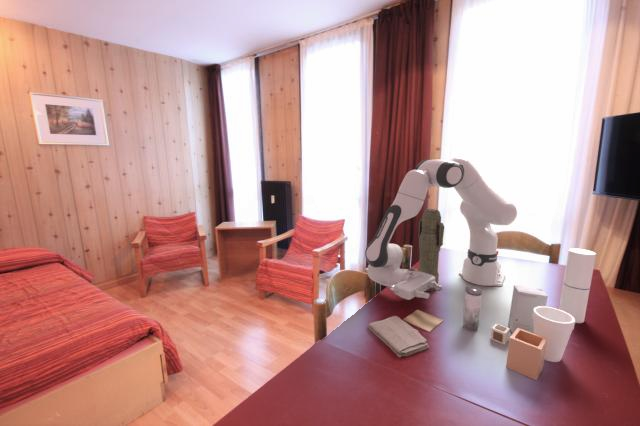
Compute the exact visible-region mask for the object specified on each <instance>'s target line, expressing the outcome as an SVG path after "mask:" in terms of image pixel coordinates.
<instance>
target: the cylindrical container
mask: <svg viewBox="0 0 640 426" xmlns="http://www.w3.org/2000/svg"><path fill="white" fill-rule="evenodd" d="M567 251H568V252H567V256H566V257H567V258H566V263H565V269H564V276H563V282H562V283H563V284H562V288H561V294H560V302H559V308H558V309H559V310H562V311H564V312H566V313H569V314H570V315H571V316H573V317H574V318H575V324H582V323H584V322H585V317H586V312H587V308H588V307H587V306H588V301H589V296H590V289H591V284H592V279H593V274H594V269H595V268H594V267H595V263H596V256H597V253H596V252H594V251H592V250H589V249H584V248H578V247H577V248H575V247H574V248H569V249H568V250H567Z"/></svg>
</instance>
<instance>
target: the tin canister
mask: <svg viewBox="0 0 640 426" xmlns="http://www.w3.org/2000/svg"><path fill="white" fill-rule="evenodd" d="M482 295H483V289H482V288H480V287H478V286H474V285H473V286H472V285H468V286H466V287H465V294H464V305H463V306H464V307H463V313H462V314H463V317H462V328H463V329H464V330H466V331H469V332H477V331H479V324H480V317H481V316H480V314H481V306H482Z"/></svg>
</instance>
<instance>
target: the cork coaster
mask: <svg viewBox="0 0 640 426" xmlns="http://www.w3.org/2000/svg"><path fill="white" fill-rule="evenodd" d="M402 320H403V321H404V322H406V323H407V324H409V325H413V327H414V326H415V327H417V328H419V329H421V330H424V331H425V332H428V333H430V332H431V331H433V330H434V329H436V327H438V326H439V325H440V324H441V323H443V322H444V319H442V318H439V317H436V316H434V315H432V314H430V313H427V312H425V311H422V310H419V309H416V310H414V311H413V312H412V313H410V314H409V315H407V316H406V317H405V318H403V319H402Z"/></svg>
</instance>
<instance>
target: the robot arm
mask: <svg viewBox="0 0 640 426" xmlns="http://www.w3.org/2000/svg"><path fill="white" fill-rule="evenodd" d="M432 187H437V188H439V187H440V188H443V189H449V188H451V189H452V188H454V189H455V190H456V192H457V193H458V195H459V196H460V198H461V199H462V201H461V203H460V206H459V210H460V213H461V214H462V215H463V217H464V219H465V220H466V222H467V226H468V230H469V245H468V246H469V248H468V249H467V254H466V255H467V257H466V258H464V259H463V265H462V271H459V276H461V277H462V279H463V280H464V281H466V282H468V283H470V284H474V285H478V286H483V287H484V286H485V287H489V286H490V287H491V286H492V287H493V286H494V287H503V284H504V281H505V278H506V273H504V272H501V264H500V263H499V261H498V255H499V250H497V248H498V242H499V241H498V240H499V239H498V235H497V233H496V232H495V231H494V230H493V228H492V226H491V225H494V226H495V225H496V226H509V225H511V224H512V223H513V222H514V221H515V220H516V218H517V215H518V211H517V208H516V205H515V204H514V203H511V202H509V201H507V199H504V198H503V197H502V196H500V194H498V193H496V191H494V190H493V189H492V188H491V187H489V186H488V184H487V183H486V182H485V180H484V179H483V178H482V176H481V175H480V173H479V171H478V170H477V168H476V167H475V166H474V165H473V164H472V163H471V162H470V161H469V160H468V159H467V158H465V157H464V156H463V157H462V156H457V157H454V158H452V159H450V160H447V159H440V158H439V159H437V158H436V159H433V158H432V159H431V158H428V159H423V160H422V161H420V162H419V163H417V165H416V166H415V168H414V169H412V170H409V171H408V172H407V173H406V174H405V175H404V178H403V179H402V182H401V183H400V185H399V188H398V191H397V193H396V196H395V197H394V198H395V199H394V200H393V202H392V204H391V205H390V207H388V209H387V210H386V211H385V214H384V215H383V218H382V220H381V221H380V223H379V226H378V228H377V230H376V232H375V234H374V236H373V237H372V239H371V241H370V242H369V243H368V244H367V245H366V248H365V251H364V256H365V260H366V262H367V263H368V265H367V269H366V271H367V272H366V273H367V276H368V277H369V279H370V280H371V281H374V282H376V283H377V284H380V285H381V286H385V287H389V290H390V291H391V292H393V293H394V295H396V296H398V297H400V298H402V299H404V300H408V301H410V300H412V299H414V298H415V297H416V298H422V299H426V300H427V299H429V298H430V295H431V294H430V293H429V292H427V291H426V290H427V289H429V288H431V287H432V288H433V287H434V288H436V290H435V291H438V292H439V291H442V290H443V286H442V285H441V284H439V283H438V284H437V283H436V282H435V277H434V276H433V275H430V274H427V273H424V272H421V271H418V269H417V268H406V269H405V268H401V265H402V262H403V260H404V251H403V248H402V247H401V246H400V245H398V244H396V243H390V241H391V239H392V237H393V235H394V233H395V230H396V229H397V227H398V226H399V225H400V224H401V223H402V222H404V221H407V220H409V219H412V218H415V217H416V216H417V215H418V214H419V213H420V211H421V210H422V207H423V205H424V202H425V200H426V197H427V193H428V191H429V189H431V188H432Z"/></svg>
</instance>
